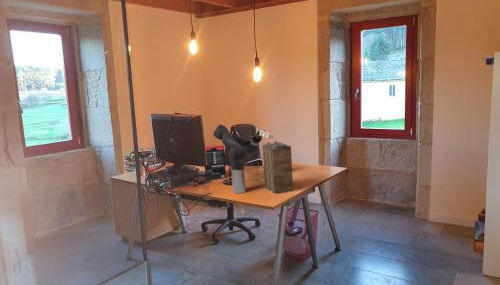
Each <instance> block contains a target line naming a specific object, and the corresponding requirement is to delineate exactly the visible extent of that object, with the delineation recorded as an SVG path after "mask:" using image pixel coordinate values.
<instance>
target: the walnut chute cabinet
mask: <svg viewBox="0 0 500 285" xmlns="http://www.w3.org/2000/svg"><path fill="white" fill-rule="evenodd" d="M273 142H274V143H272V142H266V144H263V145H262V154H263V155H262V156H263V172H264V185H265V186H264V187H265V188H266V189H267V190H269V191H270V192H271V191H272V192H271V193H273V194H274V193H278V194H282V193H281V192H284V193H288V191H289V192H293V191H294V183H293V182H294V181H293V178H294V177H293V163H292V162H293V159H292V158H293V157H292V146H291V145H288V144H285V143H282V142H279V141H273Z"/></svg>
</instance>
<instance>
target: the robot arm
mask: <svg viewBox="0 0 500 285" xmlns="http://www.w3.org/2000/svg"><path fill="white" fill-rule="evenodd" d="M263 131H266V130H265V129H263ZM259 134H260V131H258V132H256V131H255V132H254V133H252V134H251V135H250V139H245V138H242V137H241V136H233V134H231V132H230V131H229V128H227V126H225V125H224V124H218V125H217V127H216V128H215V130H214V132H213V136H214V138H215V139H218V140H220V141H221V143H222V145H223V146H224V147H225V148H226V149H228V150H229V152H228V154H229V159H230V170H231V182H232V192H233V194H238V193H239V194H243V193H246V191H247V190H246V176H245V174H246V173H245V165H244V163H242V162H237V160H242V159H245V157H246V156H247V155H246V154H247V153H250V154H251V153H254V152H255V151H256V148H257V146H258V145H259V144H260V142H262V139H263V138H264V137H263V136H260V135H259ZM245 147H246V148H245ZM246 152H247V153H246Z"/></svg>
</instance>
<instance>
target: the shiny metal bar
mask: <svg viewBox="0 0 500 285" xmlns="http://www.w3.org/2000/svg"><path fill="white" fill-rule="evenodd" d="M258 131H260V134H259V135H260V136H263V137H262V138H266V139H274V133H272V132H268V131H267V130H265V131H264V129H263V130H262V129H257V130H255V133H256V132H258Z"/></svg>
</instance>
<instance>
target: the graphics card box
mask: <svg viewBox="0 0 500 285" xmlns="http://www.w3.org/2000/svg"><path fill="white" fill-rule="evenodd" d="M204 147H205V148H206V159H207V165H206V166H205V165H204V173H205V174H204V176H205V179H206V178H207V179H206V180H217V179H226V177H227V173H226V161H225V159H226V158H225V156H226V155H225V148H224V147H225V145H224V144H219V145H208V146H206V145H205V146H204Z"/></svg>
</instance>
